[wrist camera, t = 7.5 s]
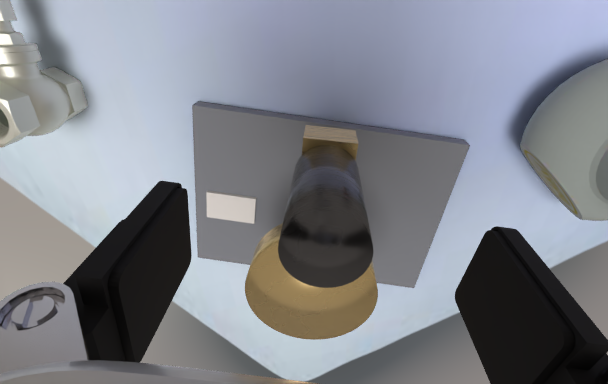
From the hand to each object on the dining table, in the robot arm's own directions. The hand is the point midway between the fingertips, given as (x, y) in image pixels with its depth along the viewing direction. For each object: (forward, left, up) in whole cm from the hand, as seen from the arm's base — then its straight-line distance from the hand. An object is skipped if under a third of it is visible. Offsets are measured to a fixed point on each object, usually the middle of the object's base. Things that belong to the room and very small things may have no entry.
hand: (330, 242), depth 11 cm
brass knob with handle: (+6, 0, -8) cm, 10 cm away
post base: (+8, 0, -16) cm, 18 cm away
